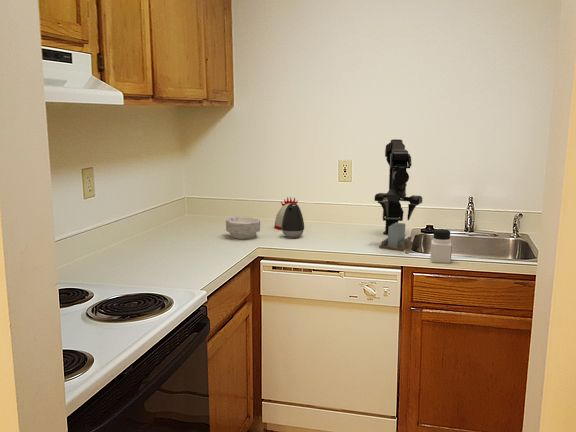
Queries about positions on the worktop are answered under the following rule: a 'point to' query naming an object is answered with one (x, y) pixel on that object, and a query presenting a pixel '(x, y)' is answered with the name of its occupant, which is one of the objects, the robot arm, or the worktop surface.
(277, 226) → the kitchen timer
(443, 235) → the medicine bottle
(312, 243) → the worktop surface
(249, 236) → the grey stone bowl
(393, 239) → the blue grey block
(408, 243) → the track board
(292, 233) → the black grey egg shape
